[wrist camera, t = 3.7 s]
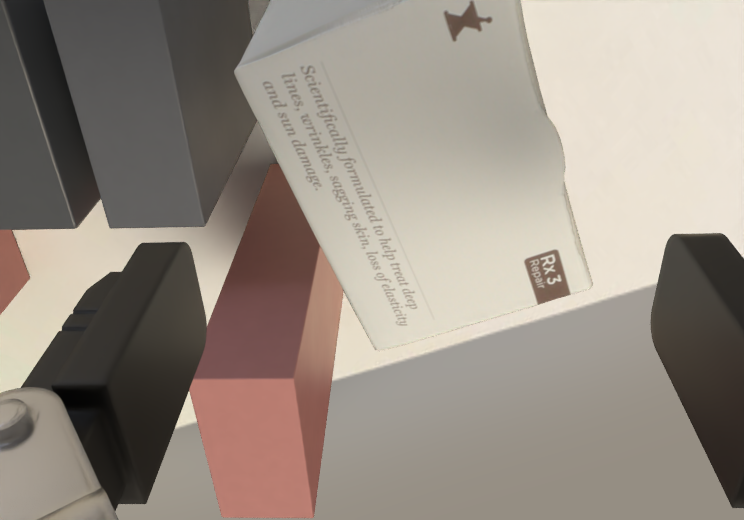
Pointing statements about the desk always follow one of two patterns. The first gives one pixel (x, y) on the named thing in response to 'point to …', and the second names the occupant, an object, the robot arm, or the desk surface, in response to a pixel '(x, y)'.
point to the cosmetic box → (418, 157)
